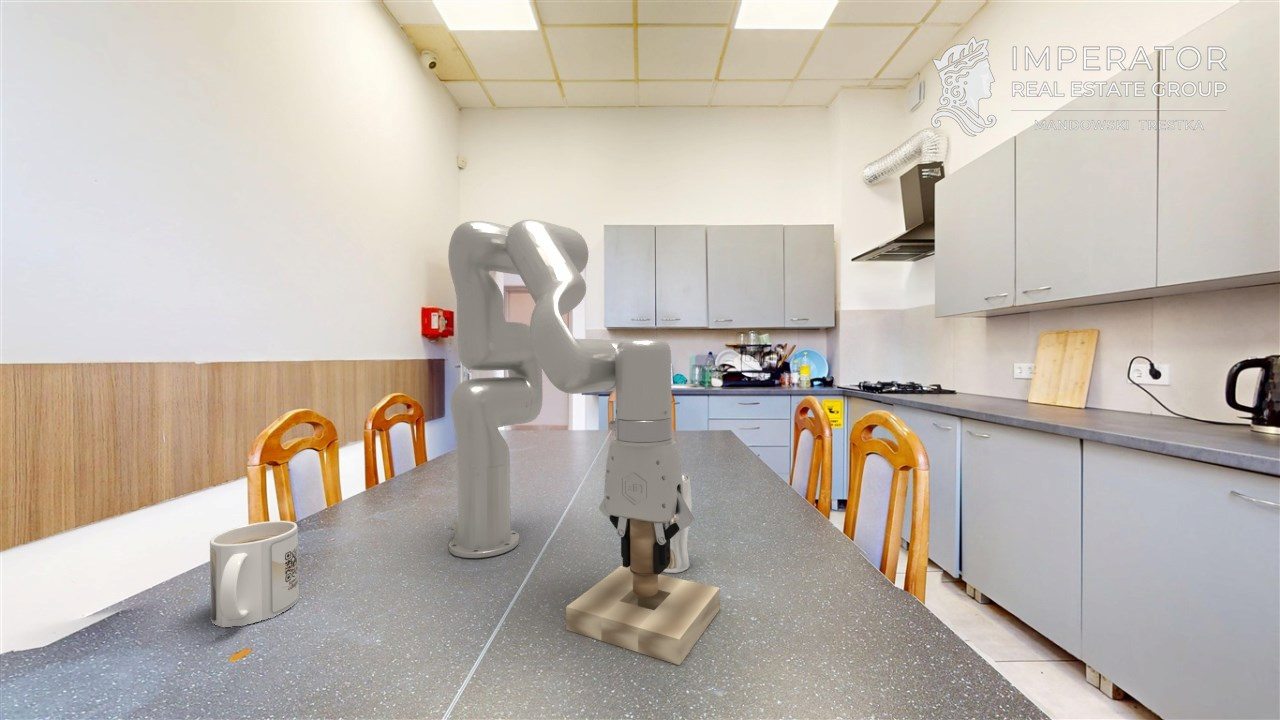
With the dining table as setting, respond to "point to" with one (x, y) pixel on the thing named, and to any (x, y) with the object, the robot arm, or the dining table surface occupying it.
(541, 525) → the dining table surface
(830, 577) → the dining table surface
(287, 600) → the mug
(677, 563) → the beer glass
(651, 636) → the board
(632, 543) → the peg
